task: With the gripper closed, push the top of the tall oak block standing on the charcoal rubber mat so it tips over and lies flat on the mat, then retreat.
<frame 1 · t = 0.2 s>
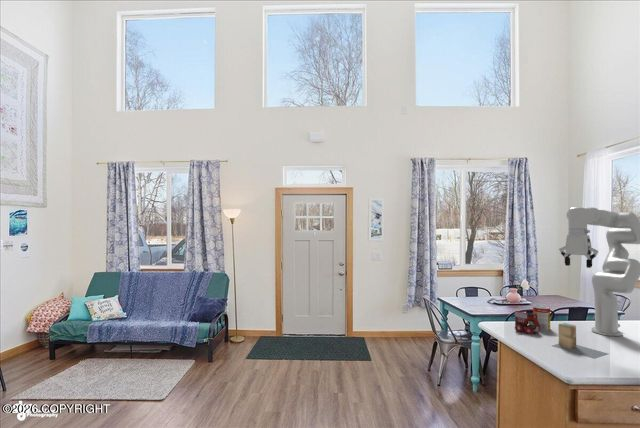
hand: (578, 266, 179), 36 cm above the table, tool pointing down, fingers open, 9 cm apart
canned food: (541, 329, 197), on the table
toy fire truck: (526, 332, 191), on the table
mat: (579, 350, 164), on the table
oak block: (567, 346, 168), resting on mat
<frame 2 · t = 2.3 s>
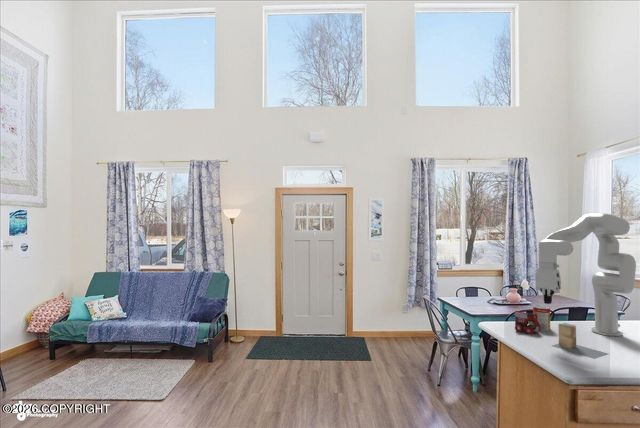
hand: (547, 303, 176), 19 cm above the table, tool pointing down, fingers closed
nothing on the table moved.
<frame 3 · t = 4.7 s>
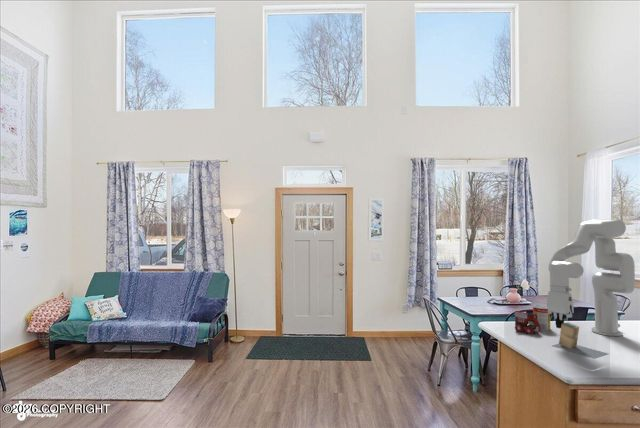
hand: (559, 327, 171), 8 cm above the table, tool pointing down, fingers closed
oak block: (567, 345, 168), point 1 cm above the table, tilted 8°, touching mat
everything else where it was.
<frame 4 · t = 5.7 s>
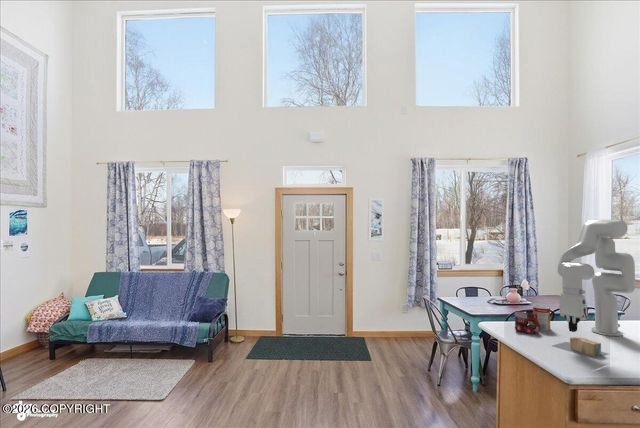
hand: (573, 331, 166), 8 cm above the table, tool pointing down, fingers closed
oak block: (573, 342, 166), point 3 cm above the table, tilted 90°, touching mat
everything else where it was.
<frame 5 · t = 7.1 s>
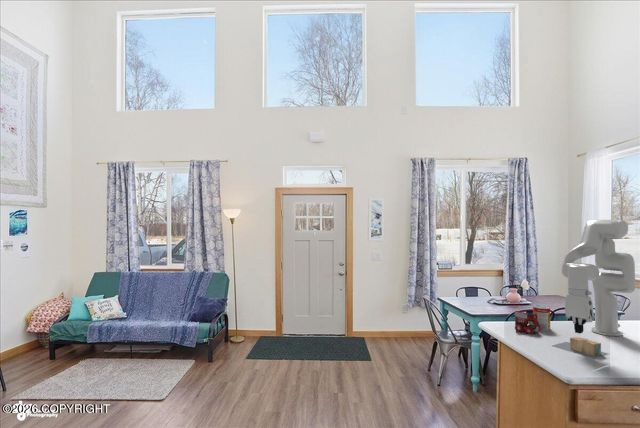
hand: (578, 332, 164), 8 cm above the table, tool pointing down, fingers closed
nothing on the table moved.
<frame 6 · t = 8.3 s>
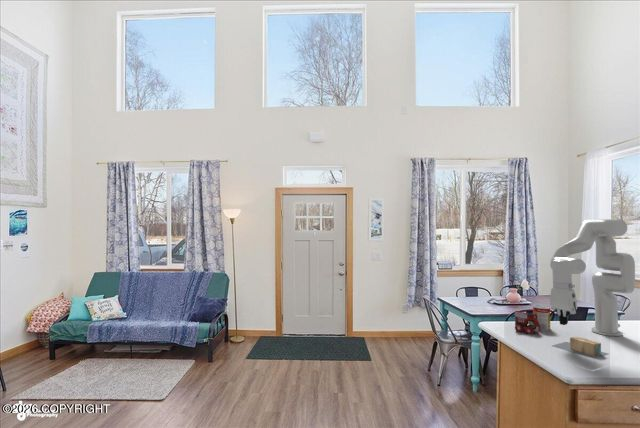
hand: (563, 324, 171), 10 cm above the table, tool pointing down, fingers closed
nothing on the table moved.
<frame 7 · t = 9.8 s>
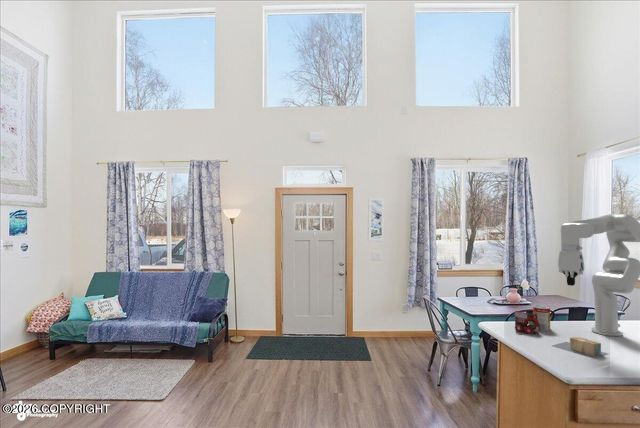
hand: (570, 285, 179), 27 cm above the table, tool pointing down, fingers closed
nothing on the table moved.
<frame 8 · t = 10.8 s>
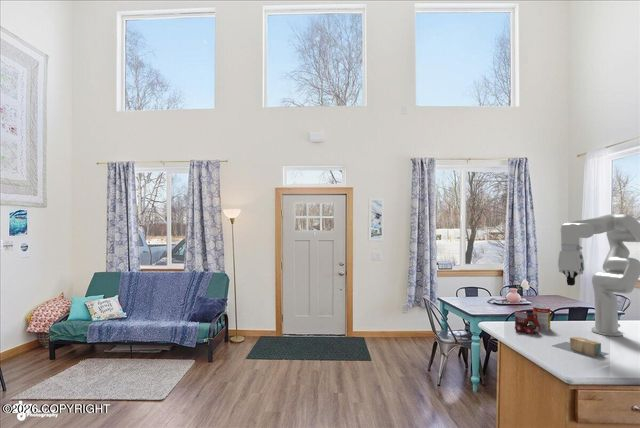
hand: (570, 285, 179), 27 cm above the table, tool pointing down, fingers closed
nothing on the table moved.
at the end: oak block tilted 90°; oak block inside the target area on the mat (4.5 cm from its centre), point 2.9 cm above the mat's base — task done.
